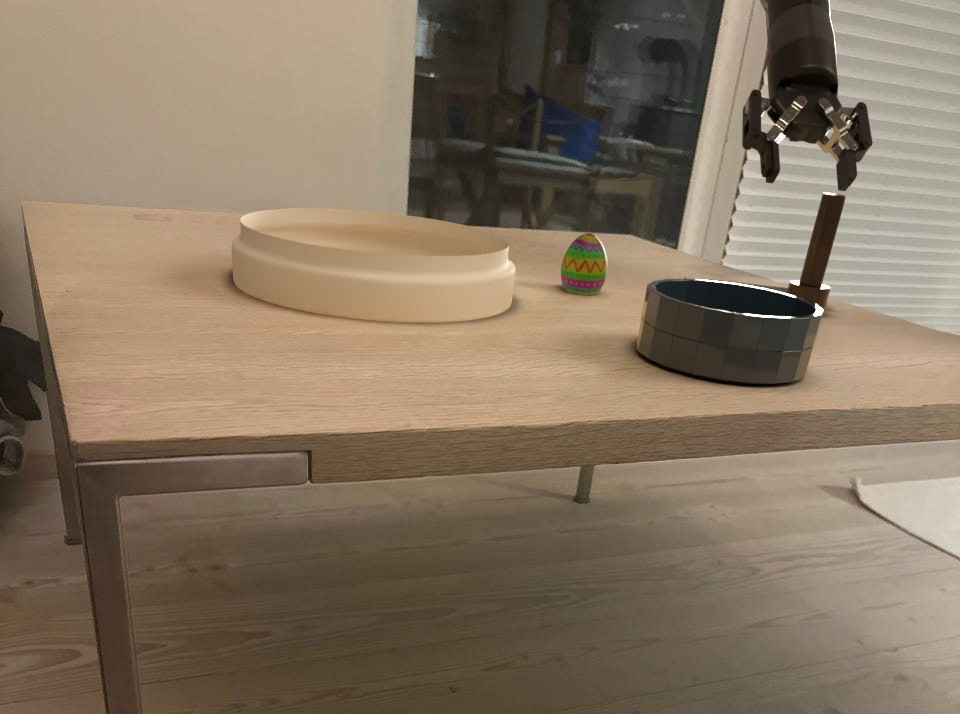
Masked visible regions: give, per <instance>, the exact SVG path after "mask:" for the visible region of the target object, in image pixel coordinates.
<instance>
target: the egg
mask: <svg viewBox="0 0 960 714" xmlns="http://www.w3.org/2000/svg"><path fill="white" fill-rule="evenodd" d="M607 275H608V257H607V253H606V249H605V247H604V245H603V242H602V241H601V240H600V238H599V237H598V236H597V235H595V234H593V233H591V232H590V233H589V232H586V233H583V234H581V235H579V236H578V237H576V238H575V239H574V240H573V241H572V243H570V244H569V246H568V248H567V249H566V252H565V254H564V256H563V259H562V261H561V266H560V279H561V284H562V286H563V289H564V291H565V292H567V293H569V294H573V295H579V296H596V295H597V294H598V293H599V292H600V291H601V289H602V288H603V286H604V285H605V282H606V279H607Z"/></svg>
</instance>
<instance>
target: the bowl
mask: <svg viewBox="0 0 960 714" xmlns="http://www.w3.org/2000/svg"><path fill="white" fill-rule="evenodd" d="M712 280H713V279H712ZM712 280H699V279H685V278H664V279H657V280H653V281H651V282H649V283H647V285H646V289H645V296H644V302H643V307H642V311H641V318H640V324H639V328H638V334H637V340H636V344H635V345H636V349H637V351H638V353H639V354H641V355H642V356H644V357H646V358H647V359H648V360H650V361H653V362H655V363H656V364H659V365H660V366H663V367H664V368H667V369H670V370H673V371H675V372H679V373H682V374H685V375H689V376H693V377H697V378H702V379H705V380H706V379H707V380H712V381H716V382H717V381H719V382H724V383H731V384H740V385H774V384H784V383H794V382H796V381H799V380H801V379H804V378H805V377H806V374H807V372H808V368H809V365H810V360H811V358H812V354H813V351H814V346H815V344H816V340H817V337H818V332H819V329H820V326H821V323H822V318H823V316H824V314H823V312H824V313H825V310H823V309H822V308H820V307H819V306H818V305H817V304H814V303H812V302H810V301H807V300H805V299H803V298H800V297H796V296H793V295H789V294H786V293H782V292H778V291H773V290H769V289H764V288H760V287H755V286H749V285H743V284H737V283H729V282H721V281H722V280H721V281H712ZM822 315H823V316H822Z"/></svg>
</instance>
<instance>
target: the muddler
mask: <svg viewBox="0 0 960 714" xmlns="http://www.w3.org/2000/svg"><path fill="white" fill-rule="evenodd" d="M846 199H847V195H845V194H839V193H833V192H823V193H822V194H821V198H820V202H819V206H818V210H817V214H816V217H815V221H814V224H813V229H812V232H811V236H810V239H809V244H808V248H807V252H806V256H805V259H804V262H803V267H802V270H801V275H800V278H799V279H798V280H795V279H794V280H789V283H788V286H787V288H788V290H787V294H789V295H793V296H796V297H800V298H803V299H805V300H807V301H810V302H812V303H814V304H817V305H818V306H819V307H820V308H822V309H823V310H824V312H823V315H822V317H823V316H824V313H825V307H826V303H827V302H828V299H829V295H830V292H831V286H829V285H826V284H823V282H824V278H825V275H826V271H827V268H828V264H829V261H830V256H831V253H832V250H833V246H834V243H835V239H836V235H837V231H838V229H839V228H838V227H839V224H840V221H841V218H842V213H843V210H844V207H845V204H846ZM826 308H827V307H826Z"/></svg>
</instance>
